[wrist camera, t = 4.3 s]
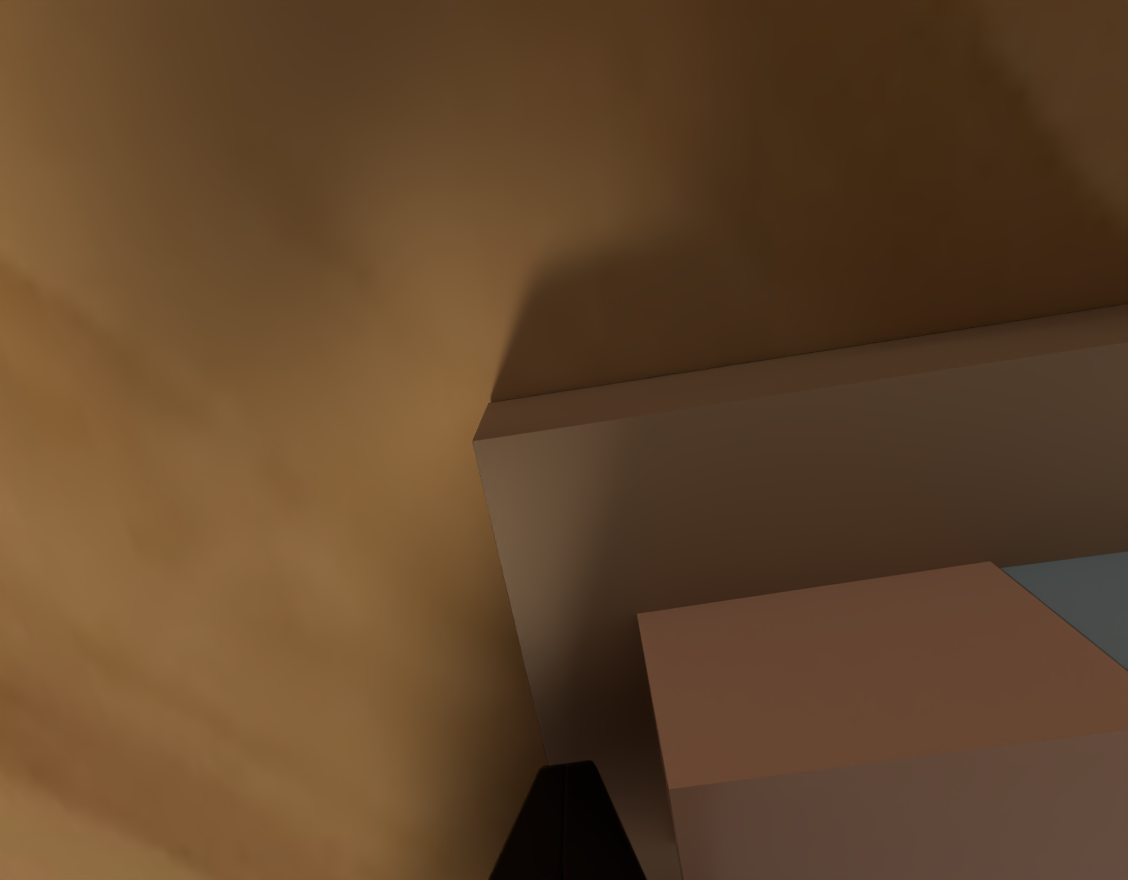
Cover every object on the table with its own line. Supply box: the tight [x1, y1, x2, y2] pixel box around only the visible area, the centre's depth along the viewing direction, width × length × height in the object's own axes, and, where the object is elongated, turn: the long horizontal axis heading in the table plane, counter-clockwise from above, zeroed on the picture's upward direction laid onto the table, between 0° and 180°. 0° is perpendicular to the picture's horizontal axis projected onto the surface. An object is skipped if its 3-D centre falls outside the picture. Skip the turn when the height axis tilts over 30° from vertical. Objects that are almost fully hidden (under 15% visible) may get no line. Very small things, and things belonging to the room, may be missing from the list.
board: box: [472, 304, 1128, 880], centre depth 9 cm, size 10×14×2 cm
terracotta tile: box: [637, 561, 1128, 880], centre depth 7 cm, size 4×4×2 cm
